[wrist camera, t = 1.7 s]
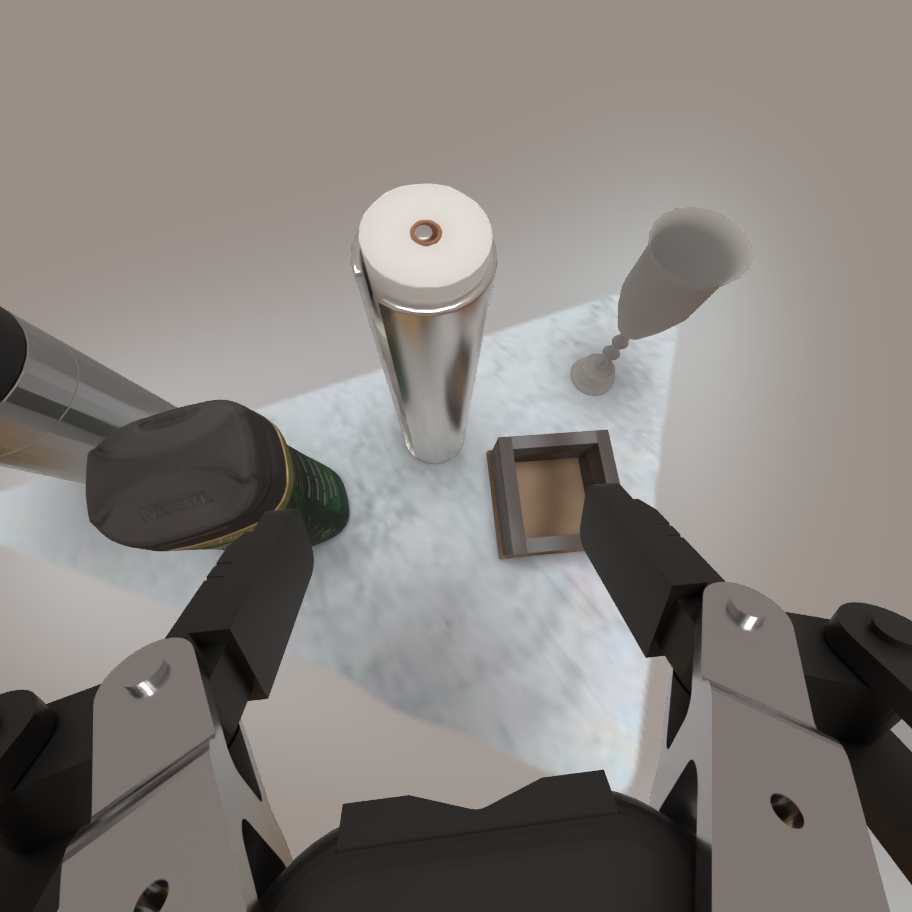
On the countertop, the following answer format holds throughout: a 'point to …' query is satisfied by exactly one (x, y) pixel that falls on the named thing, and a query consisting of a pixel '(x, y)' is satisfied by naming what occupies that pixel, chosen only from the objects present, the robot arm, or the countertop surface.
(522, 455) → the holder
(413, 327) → the silver metal cylinder
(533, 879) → the robot arm
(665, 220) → the chalice
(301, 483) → the coffee jar
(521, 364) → the countertop surface
